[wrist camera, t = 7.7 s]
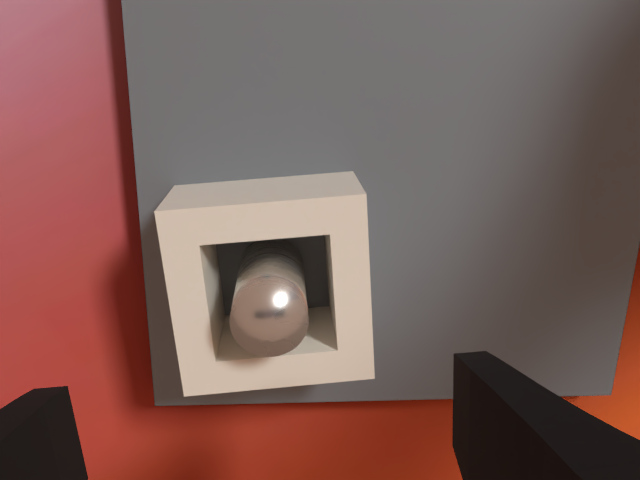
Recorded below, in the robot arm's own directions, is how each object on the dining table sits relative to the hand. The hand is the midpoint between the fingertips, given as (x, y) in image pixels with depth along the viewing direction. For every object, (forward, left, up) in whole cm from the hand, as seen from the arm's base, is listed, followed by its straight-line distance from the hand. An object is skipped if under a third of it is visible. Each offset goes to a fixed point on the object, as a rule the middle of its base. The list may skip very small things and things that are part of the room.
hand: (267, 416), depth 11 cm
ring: (0, 0, -8) cm, 8 cm away
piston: (0, 0, -8) cm, 8 cm away
